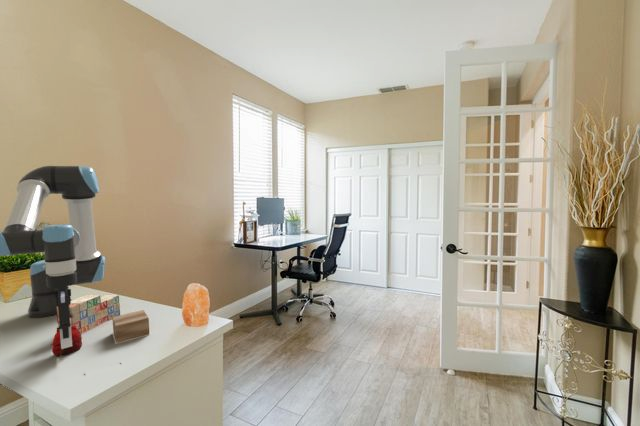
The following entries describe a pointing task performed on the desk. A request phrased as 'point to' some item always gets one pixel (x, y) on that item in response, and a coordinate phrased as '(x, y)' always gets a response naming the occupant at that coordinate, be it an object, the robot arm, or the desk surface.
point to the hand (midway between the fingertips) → (66, 342)
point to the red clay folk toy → (66, 351)
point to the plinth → (130, 326)
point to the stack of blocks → (92, 311)
